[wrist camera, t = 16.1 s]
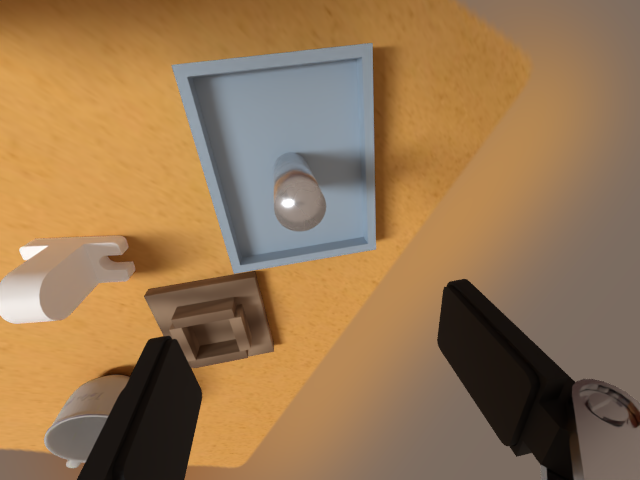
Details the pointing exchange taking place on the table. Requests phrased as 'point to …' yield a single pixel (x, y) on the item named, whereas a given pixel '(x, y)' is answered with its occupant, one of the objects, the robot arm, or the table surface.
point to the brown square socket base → (214, 318)
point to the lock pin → (297, 194)
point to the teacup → (83, 419)
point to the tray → (285, 148)
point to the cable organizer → (60, 276)
